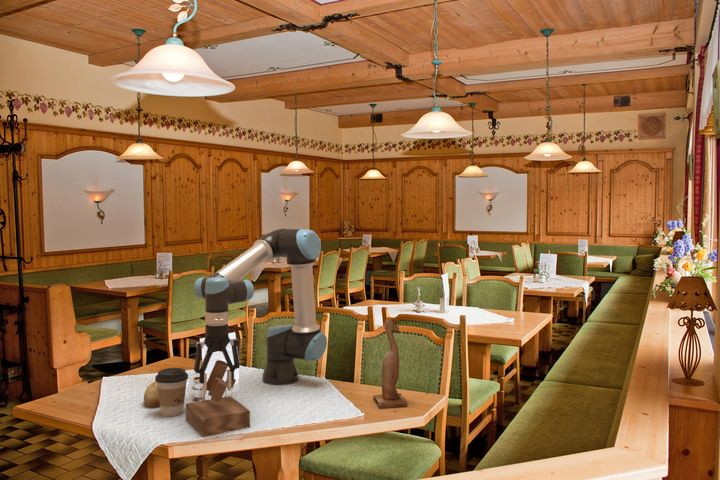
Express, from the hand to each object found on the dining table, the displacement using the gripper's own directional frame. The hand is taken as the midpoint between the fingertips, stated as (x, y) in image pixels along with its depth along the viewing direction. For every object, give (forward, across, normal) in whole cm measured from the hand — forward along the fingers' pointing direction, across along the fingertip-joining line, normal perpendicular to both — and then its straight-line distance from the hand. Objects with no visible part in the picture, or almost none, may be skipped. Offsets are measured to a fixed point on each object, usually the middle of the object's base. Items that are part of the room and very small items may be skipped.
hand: (217, 390), depth 200 cm
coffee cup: (+11, -12, +17) cm, 24 cm away
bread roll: (+12, -14, +31) cm, 36 cm away
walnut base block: (+12, 0, 0) cm, 12 cm away
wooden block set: (+1, 0, -1) cm, 2 cm away
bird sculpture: (+11, +63, -7) cm, 64 cm away
